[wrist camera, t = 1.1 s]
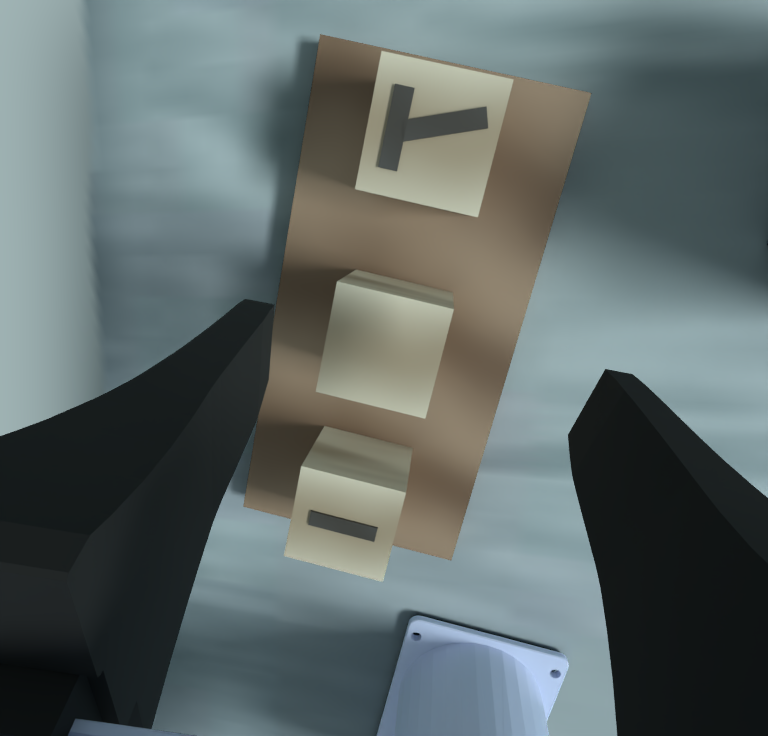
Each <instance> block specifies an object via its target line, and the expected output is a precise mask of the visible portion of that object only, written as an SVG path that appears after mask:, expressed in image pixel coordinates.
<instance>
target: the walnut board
mask: <svg viewBox="0 0 768 736" xmlns="http://www.w3.org/2000/svg"><path fill="white" fill-rule="evenodd" d="M382 51H385V52H389V53H394V54H399V55H403V56H408V57H413V58H417V59H422V60H426V61H431V62H436V63H440V64H445V65H449V66H454V67H459V68H463V69H468V70H472V71H477V72H482V73H486V74H491V75H496V76H500V77H505V78H509V79H514V80H513V84H512V88H511V92H510V96H509V100H508V103H507V107H506V111H505V115H504V119H503V123H502V126H501V130H500V134H499V138H498V142H497V146H496V150H495V153H494V157H493V161H492V165H491V169H490V173H489V176H488V180H487V184H486V188H485V192H484V196H483V199H482V203H481V207H480V211H479V215H478V217H472V216H468V215H464V214H459V213H455V212H450V211H446V210H442V209H437V208H433V207H429V206H424V205H420V204H416V203H411V202H407V201H403V200H398V199H394V198H389V197H385V196H381V195H376V194H372V193H368V192H364V191H360V190H356V189H355V186H356V181H357V176H358V170H359V165H360V160H361V155H362V150H363V145H364V139H365V134H366V129H367V124H368V119H369V114H370V108H371V103H372V98H373V93H374V88H375V83H376V77H377V72H378V67H379V62H380V57H381V52H382ZM590 96H591V93H589V92H584V91H580V90H575V89H570V88H566V87H561V86H556V85H552V84H547V83H543V82H538V81H533V80H529V79H524V78H520V77H515V76H510V75H506V74H501V73H496V72H492V71H487V70H483V69H478V68H473V67H469V66H464V65H460V64H455V63H450V62H446V61H441V60H436V59H432V58H427V57H423V56H418V55H413V54H409V53H404V52H400V51H395V50H390V49H386V48H381V47H376V46H372V45H367V44H363V43H358V42H353V41H349V40H344V39H339V38H335V37H330V36H326V35H321V34H320V39H319V45H318V51H317V57H316V63H315V69H314V76H313V82H312V88H311V94H310V100H309V106H308V112H307V119H306V125H305V131H304V137H303V143H302V149H301V156H300V162H299V168H298V174H297V180H296V186H295V192H294V199H293V205H292V211H291V217H290V223H289V229H288V235H287V242H286V248H285V254H284V260H283V266H282V272H281V278H280V285H279V291H278V297H277V303H276V309H275V315H274V321H273V331H272V344H271V358H270V371H269V381H268V384H267V388H266V391H265V395H264V398H263V402H262V405H261V408H260V412H259V415H258V420H257V426H256V432H255V438H254V444H253V451H252V457H251V463H250V469H249V475H248V481H247V487H246V494H245V500H244V506H243V507H247V508H251V509H255V510H259V511H262V512H266V513H270V514H274V515H278V516H282V517H286V518H289V519H291V517H292V512H293V506H294V501H295V496H296V491H297V486H298V481H299V475H300V470H301V466H302V464H303V462H304V461H305V459H306V457H307V455H308V454H309V452H310V450H311V448H312V447H313V445H314V443H315V441H316V440H317V438H318V436H319V435H320V433H321V431H322V429H323V428H324V426H327V427H331V428H335V429H339V430H343V431H347V432H351V433H355V434H359V435H363V436H367V437H371V438H375V439H379V440H383V441H387V442H391V443H395V444H399V445H403V446H407V447H411V448H413V450H412V457H411V463H410V470H409V477H408V483H407V490H406V495H405V499H404V503H403V507H402V510H401V514H400V518H399V522H398V526H397V530H396V534H395V537H394V541H393V545H394V546H397V547H401V548H405V549H409V550H413V551H417V552H421V553H424V554H428V555H432V556H436V557H440V558H444V559H448V560H451V559H452V556H453V553H454V549H455V546H456V543H457V539H458V536H459V533H460V529H461V526H462V523H463V519H464V516H465V513H466V509H467V506H468V503H469V499H470V496H471V493H472V489H473V486H474V483H475V479H476V476H477V473H478V469H479V466H480V463H481V459H482V456H483V453H484V449H485V446H486V443H487V439H488V436H489V433H490V429H491V426H492V423H493V419H494V416H495V413H496V409H497V406H498V403H499V399H500V396H501V393H502V389H503V386H504V383H505V379H506V376H507V373H508V369H509V366H510V363H511V359H512V356H513V353H514V349H515V346H516V343H517V339H518V336H519V333H520V329H521V326H522V323H523V319H524V316H525V313H526V309H527V306H528V303H529V299H530V296H531V293H532V289H533V286H534V283H535V279H536V276H537V273H538V270H539V266H540V263H541V260H542V256H543V253H544V250H545V246H546V243H547V240H548V236H549V233H550V230H551V226H552V223H553V220H554V216H555V213H556V210H557V206H558V203H559V200H560V196H561V193H562V190H563V186H564V183H565V180H566V176H567V173H568V170H569V166H570V163H571V160H572V156H573V153H574V150H575V146H576V143H577V140H578V136H579V133H580V130H581V126H582V123H583V120H584V116H585V113H586V110H587V106H588V103H589V100H590ZM355 270H360V271H364V272H369V273H373V274H377V275H381V276H386V277H390V278H394V279H398V280H403V281H407V282H411V283H415V284H419V285H424V286H428V287H432V288H436V289H441V290H445V291H449V292H453V303H454V311H453V315H452V318H451V322H450V326H449V330H448V334H447V338H446V342H445V345H444V349H443V353H442V357H441V361H440V365H439V368H438V372H437V376H436V380H435V384H434V388H433V391H432V395H431V399H430V403H429V407H428V411H427V414H426V418H425V419H424V418H420V417H416V416H412V415H408V414H404V413H400V412H396V411H392V410H388V409H384V408H380V407H376V406H372V405H368V404H364V403H360V402H356V401H352V400H348V399H343V398H339V397H335V396H331V395H327V394H323V393H319V392H316V387H317V382H318V377H319V372H320V367H321V362H322V356H323V351H324V346H325V341H326V336H327V331H328V325H329V320H330V315H331V310H332V305H333V300H334V294H335V289H336V284H337V281H338V280H340V279H342V278H343V277H345V276H347V275H348V274H350V273H351V272H353V271H355Z"/></svg>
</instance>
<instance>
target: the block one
mask: <svg viewBox="0 0 768 736" xmlns="http://www.w3.org/2000/svg"><path fill="white" fill-rule="evenodd" d="M412 450H413V448H411V447H407V446H403V445H399V444H395V443H391V442H387V441H383V440H379V439H375V438H371V437H367V436H363V435H359V434H355V433H351V432H347V431H343V430H339V429H335V428H331V427H327V426H324V428H323V429H322V431H321V433H320V435H319V436H318V438H317V440H316V441H315V443H314V445H313V447H312V448H311V450H310V452H309V454H308V455H307V457H306V459H305V461H304V462H303V464H302V466H301V470H300V475H299V481H298V486H297V491H296V496H295V501H294V506H293V512H292V517H291V522H290V527H289V532H288V537H287V543H286V548H285V553H284V556H286V557H290V558H294V559H297V560H301V561H305V562H309V563H313V564H316V565H320V566H324V567H328V568H332V569H336V570H339V571H343V572H347V573H351V574H355V575H358V576H362V577H366V578H370V579H374V580H377V581H381V582H383V580H384V576H385V572H386V568H387V564H388V560H389V557H390V553H391V549H392V545H393V541H394V537H395V534H396V530H397V526H398V522H399V518H400V514H401V510H402V507H403V503H404V499H405V495H406V490H407V483H408V477H409V470H410V463H411V457H412Z"/></svg>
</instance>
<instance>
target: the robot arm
mask: <svg viewBox="0 0 768 736" xmlns="http://www.w3.org/2000/svg"><path fill="white" fill-rule="evenodd" d="M273 318H274V305H273V304H268V303H263V302H258V301H253V300H247V299H245V300H243V301H242V302H240V303H239V304H238V305H236V306H235V307H234V308H233V309H231V310H230V311H229V312H228V313H226V314H225V315H224V316H223V317H221V318H220V319H219V320H218V321H216V322H215V323H214V324H213V325H211V326H210V327H209V328H207V329H206V330H205V331H204V332H202V333H201V334H199V335H198V336H197V337H195V338H194V339H193V340H191V341H190V342H189V343H187V344H186V345H185V346H183V347H182V348H180V349H179V350H178V351H176V352H175V353H173V354H172V355H170V356H168V357H167V358H165V359H164V360H162V361H161V362H159V363H158V364H156V365H155V366H153V367H152V368H150V369H148V370H147V371H145V372H144V373H142V374H140V375H138V376H137V377H135V378H133V379H132V380H130V381H128V382H126V383H124V384H122V385H121V386H119V387H117V388H115V389H113V390H111V391H109V392H107V393H105V394H103V395H101V396H99V397H97V398H95V399H93V400H90V401H88V402H86V403H83V404H81V405H79V406H77V407H74V408H72V409H70V410H67V411H65V412H63V413H60V414H58V415H56V416H54V417H51V418H49V419H46V420H44V421H41V422H39V423H36V424H33V425H30V426H28V427H25V428H22V429H20V430H17V431H14V432H11V433H8V434H5V435H3V436H0V736H195V735H188V734H181V733H174V732H167V731H160V730H153V729H151V728H152V725H153V721H154V717H155V714H156V710H157V707H158V703H159V700H160V696H161V692H162V689H163V685H164V682H165V678H166V674H167V671H168V667H169V664H170V660H171V657H172V654H173V650H174V647H175V643H176V640H177V637H178V633H179V630H180V626H181V623H182V620H183V616H184V613H185V609H186V606H187V603H188V600H189V596H190V593H191V590H192V587H193V583H194V580H195V577H196V574H197V570H198V567H199V564H200V561H201V558H202V555H203V552H204V548H205V545H206V542H207V539H208V536H209V533H210V530H211V527H212V524H213V521H214V518H215V516H216V513H217V511H218V508H219V505H220V503H221V501H222V498H223V496H224V494H225V492H226V489H227V487H228V485H229V482H230V480H231V478H232V476H233V473H234V471H235V469H236V467H237V464H238V462H239V460H240V458H241V455H242V453H243V451H244V448H245V446H246V444H247V442H248V439H249V437H250V435H251V432H252V430H253V428H254V425H255V423H256V421H257V418H258V415H259V412H260V408H261V405H262V402H263V398H264V395H265V391H266V388H267V384H268V381H269V371H270V358H271V344H272V331H273ZM568 440H569V451H570V461H571V469H572V476H573V481H574V485H575V489H576V493H577V497H578V501H579V505H580V508H581V512H582V516H583V520H584V523H585V527H586V531H587V535H588V538H589V542H590V546H591V550H592V553H593V557H594V561H595V565H596V569H597V573H598V578H599V583H600V587H601V593H602V600H603V607H604V613H605V620H606V627H607V634H608V642H609V651H610V659H611V668H612V676H613V688H614V700H615V712H616V724H617V736H768V498H767V497H766V496H765V495H763V494H762V493H761V492H760V491H759V490H757V489H756V488H755V487H754V486H753V485H751V484H750V483H749V482H748V481H747V480H746V479H745V478H743V477H742V476H741V475H740V474H739V473H738V472H737V471H735V470H734V469H733V468H732V467H731V466H730V465H729V464H727V463H726V462H725V461H724V460H723V459H722V458H721V457H720V456H719V455H718V454H717V453H715V452H714V451H713V450H712V449H711V448H710V447H709V446H708V445H707V444H706V443H705V442H704V441H703V440H702V439H701V438H700V437H699V436H697V435H696V434H695V433H694V432H693V431H692V430H691V429H690V428H689V427H688V426H687V425H686V424H685V423H684V422H683V421H682V420H681V419H680V418H679V417H678V416H677V415H676V414H675V413H674V412H673V411H672V410H671V409H670V408H669V407H668V406H667V405H666V404H665V403H664V402H663V401H662V400H661V399H660V398H658V397H657V396H656V395H655V394H654V393H653V392H652V391H651V390H650V389H649V388H648V387H647V386H646V385H645V384H643V383H642V382H641V381H640V380H639V379H638V378H636V377H635V376H634V375H633V374H628V373H623V372H618V371H613V370H607V369H605V371H604V373H603V374H602V376H601V378H600V380H599V381H598V383H597V385H596V387H595V388H594V390H593V392H592V394H591V395H590V397H589V399H588V401H587V402H586V404H585V406H584V408H583V410H582V411H581V413H580V415H579V417H578V418H577V420H576V422H575V424H574V425H573V427H572V429H571V431H570V432H569V434H568ZM414 632H415V633H419V634H420V635H414V634H412V633H414ZM568 666H569V664H568V660H567V657H566V656H565V655H564V654H562V653H560V652H556V651H552V650H549V649H545V648H541V647H537V646H534V645H530V644H526V643H522V642H518V641H515V640H511V639H507V638H503V637H500V636H496V635H492V634H488V633H484V632H481V631H477V630H473V629H469V628H466V627H462V626H458V625H454V624H450V623H447V622H443V621H439V620H435V619H432V618H428V617H424V616H419V615H417V616H413V617H412V618H411V619H410V620H409V623H408V626H407V630H406V634H405V637H404V641H403V644H402V648H401V651H400V655H399V658H398V662H397V665H396V669H395V672H394V676H393V679H392V683H391V686H390V690H389V693H388V697H387V700H386V704H385V707H384V711H383V714H382V718H381V721H380V725H379V728H378V732H377V735H376V736H549V732H548V727H547V720H548V717H549V715H550V712H551V710H552V707H553V705H554V702H555V700H556V697H557V695H558V692H559V690H560V687H561V685H562V682H563V680H564V677H565V675H566V672H567V670H568ZM552 670H558V671H556V672H552Z"/></svg>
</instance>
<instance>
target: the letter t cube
mask: <svg viewBox="0 0 768 736" xmlns="http://www.w3.org/2000/svg"><path fill="white" fill-rule="evenodd" d="M513 80H514V79H509V78H505V77H500V76H496V75H491V74H486V73H482V72H477V71H472V70H468V69H463V68H459V67H454V66H449V65H445V64H440V63H436V62H431V61H426V60H422V59H417V58H413V57H408V56H403V55H399V54H394V53H389V52H385V51H382V52H381V57H380V62H379V67H378V72H377V77H376V83H375V88H374V93H373V98H372V103H371V108H370V114H369V119H368V124H367V129H366V134H365V139H364V145H363V150H362V155H361V160H360V165H359V170H358V176H357V181H356V186H355V189H356V190H360V191H364V192H368V193H372V194H376V195H381V196H385V197H389V198H394V199H398V200H403V201H407V202H411V203H416V204H420V205H424V206H429V207H433V208H437V209H442V210H446V211H450V212H455V213H459V214H464V215H468V216H472V217H478V215H479V211H480V207H481V203H482V199H483V196H484V192H485V188H486V184H487V180H488V176H489V173H490V169H491V165H492V161H493V157H494V153H495V150H496V146H497V142H498V138H499V134H500V130H501V126H502V123H503V119H504V115H505V111H506V107H507V103H508V100H509V96H510V92H511V88H512V84H513Z"/></svg>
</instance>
